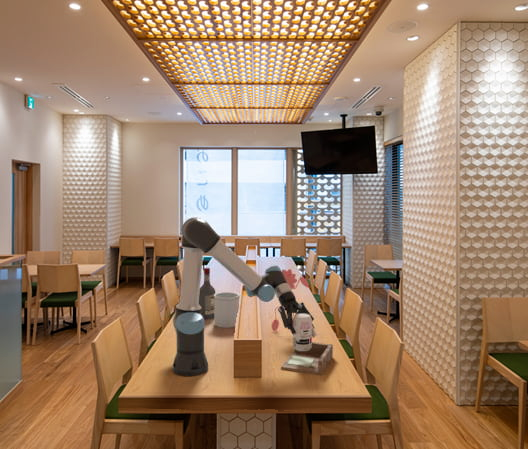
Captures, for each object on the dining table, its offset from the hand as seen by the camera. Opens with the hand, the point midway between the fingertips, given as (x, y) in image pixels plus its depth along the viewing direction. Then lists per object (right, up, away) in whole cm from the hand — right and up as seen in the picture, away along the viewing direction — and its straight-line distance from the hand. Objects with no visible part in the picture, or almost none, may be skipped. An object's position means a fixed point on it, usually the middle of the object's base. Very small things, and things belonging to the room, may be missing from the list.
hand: (307, 338), depth 199 cm
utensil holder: (-41, -8, +63) cm, 76 cm away
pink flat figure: (-7, -9, +49) cm, 50 cm away
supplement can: (-2, -6, +3) cm, 7 cm away
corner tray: (+1, -12, +4) cm, 13 cm away
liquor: (-54, -7, +79) cm, 96 cm away
